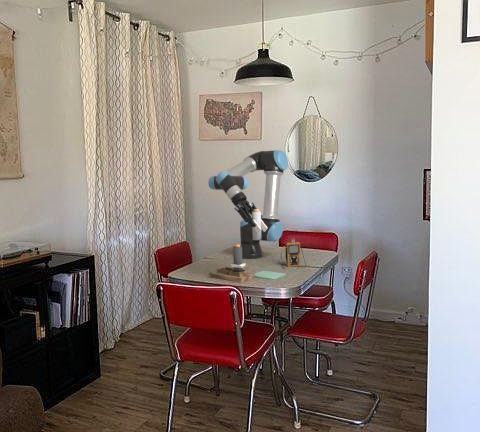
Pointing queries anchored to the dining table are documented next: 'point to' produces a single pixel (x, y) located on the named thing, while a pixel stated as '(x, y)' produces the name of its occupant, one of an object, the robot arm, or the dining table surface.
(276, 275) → the green pad
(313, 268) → the dining table surface
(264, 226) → the robot arm
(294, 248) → the multimeter
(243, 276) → the clamp board
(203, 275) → the dining table surface
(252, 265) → the dining table surface
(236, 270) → the grey flanged cylinder
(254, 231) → the white tall cylinder
